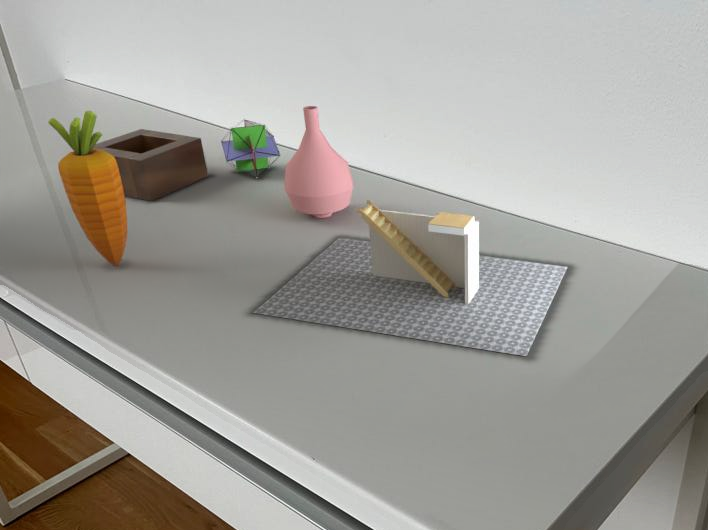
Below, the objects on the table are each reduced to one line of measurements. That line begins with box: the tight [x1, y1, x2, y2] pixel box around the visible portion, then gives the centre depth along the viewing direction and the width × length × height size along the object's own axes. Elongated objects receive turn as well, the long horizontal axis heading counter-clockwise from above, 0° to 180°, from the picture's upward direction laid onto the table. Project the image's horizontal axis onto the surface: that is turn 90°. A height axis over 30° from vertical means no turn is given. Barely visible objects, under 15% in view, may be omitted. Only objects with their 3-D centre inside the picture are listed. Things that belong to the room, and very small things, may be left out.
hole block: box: [92, 128, 209, 202], centre depth 94 cm, size 10×10×5 cm
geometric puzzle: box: [220, 118, 282, 179], centre depth 97 cm, size 7×7×8 cm
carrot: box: [47, 110, 128, 267], centre depth 71 cm, size 5×5×15 cm
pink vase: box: [284, 105, 355, 219], centre depth 83 cm, size 8×8×12 cm
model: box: [356, 199, 481, 304], centre depth 69 cm, size 3×11×8 cm, turn 74°
